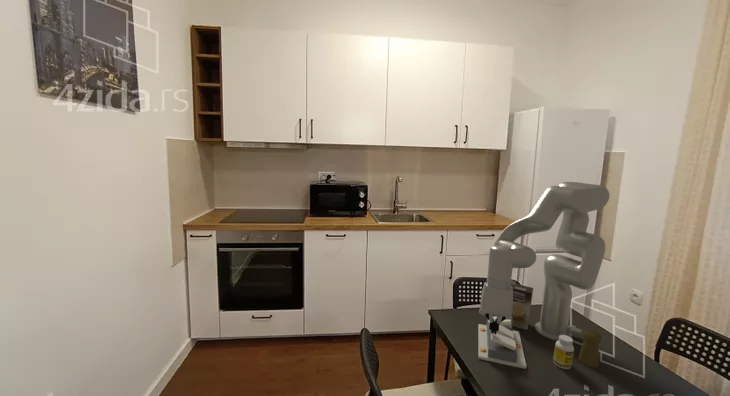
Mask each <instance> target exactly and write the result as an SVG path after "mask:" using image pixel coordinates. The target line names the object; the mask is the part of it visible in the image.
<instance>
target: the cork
mask: <svg viewBox="0 0 730 396" xmlns="http://www.w3.org/2000/svg"><path fill="white" fill-rule="evenodd" d="M582 338H583V342H582V345H581V347H580V351H579V353H578V357H577V360H578V361H579V363H581V364H582V365H584V366H587V367H590V368H598V367H599V366H600V356H599V355H600V352H599V344H601V342H602V336H601V334H600V332H597V331H595V330H592V329H585V330H584V331H582Z"/></svg>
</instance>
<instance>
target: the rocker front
mask: <svg viewBox="0 0 730 396" xmlns="http://www.w3.org/2000/svg"><path fill="white" fill-rule="evenodd" d="M491 341H494V342H496V343H498V344H501V347H504V346H505V347H507V348H510V349H512V350H514V351H515V350H516V343H515V341H514V340H512V339H510V338H507V337H505V336H503V335H501V334H498V333H496V334H491Z"/></svg>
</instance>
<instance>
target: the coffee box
mask: <svg viewBox="0 0 730 396" xmlns="http://www.w3.org/2000/svg"><path fill="white" fill-rule="evenodd" d="M512 288H513V311H512V319H511V324H512V327H515V328H518V329H522V330H526V331H528V328H529V324H530V317H531V309H532V301H533V293H534V287H531V286H526V285H522V284H519V283H516V285H512Z"/></svg>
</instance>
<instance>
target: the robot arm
mask: <svg viewBox="0 0 730 396" xmlns="http://www.w3.org/2000/svg"><path fill="white" fill-rule="evenodd" d="M609 200H610V191H609V189H608V188H607V187H606V186H604V185H601V184H593V183H587V182H586V183H585V182H579V181H578V182H577V181H564V182H561V183H559V184H558V185H552V186H548V187H547V188H546V189H544V191H543V192H542V194H541V196H540V197H539V199H538V200H537V202H536V203H535V205H534V206H533V207H532V208H531V210H530V211H529V213H528V214H527V215H526V216H524V217H522V218H520V219H517V220H516V221H514V222H512V223H511V224H508V226H506V227H505V228H504V229H503V230H502V231H501V232H500V234H499V236H498V237H497V239H496V240H495V242H494V244H493V245H492V246H491V247H490V249H489V255H488V268H487V275H486V277H487V278H486V281H485V282H484V283H483V287H482V291H481V295H480V306H479V310H478V314H479V315H482V316H485V317H486V319H488V320H489V321H490V325H489V330H491V334H496V333H497V331H499V324H500V323H501V322H502V321H504V320H511V319H512V311H513V288H512V285H516V284H517V282H516V280H513V279H512V276H513V269H526V268H527V269H528V268H530V267H532V266H533V265H534V264H535V263H536V261H537V253H536V252H535V250H534V249H533V248H531V247H530V246H527V245H524V244H522V243H519V242H515V241H516V240H518V239H519V238H520V237H523V236H525V235H529V234H530V235H531V234H536V233H543V232H548V231H549V230H551V229H552V227H553V226H554V225H555V224H556V221H557V220H558V218H559V217H560V216H561V214H562V215H563V216H562V220H561V222H560V223H561V224H560V226H559V229H558V233H557V236H556V239H555V240H556V241H555V247H556V248H557V249H558V250H559V251H561V252H562V253H566V254H567V255H568V254H569V255H571V256H574V257H577V258H581V261H579V260H578V259H574V258H571V257H568V256H565V255H561V254H550V255H548V256H547V257H546V258H545V260H544V262H543V273H544V274H543V275H544V276H543V277H544V283H543V284H544V285H543V294H542V301H541V302H542V303H541V309H540V319H539V321H537V322H536V323H535V324H534V329H535V331H536V332H537V333H538V334H539V335H541V336H542V337H544V338H546V339H549V340H552V341H555V342H557V341H559V336H560V335H566V336H569V337H571V338H572V334H575V335H583V330H582V329H580V328H577V325H570V324H569V320H570V313H571V304H572V298H573V291H572V287H574V288H578V289H579V290H583V291H585V290H586V291H587V290H588V291H589V290H590V289H592V288H593V287H594V286H595V284H596V281H597V279H598V276H599V272H600V270H601V268H602V267H601V266H602V262H603V260H604V256H605V253H606V242H605V240H604V238H603V237H602V236H600V235H598V234H594V233H590V232H587V230H588V226H589V222H590V217H589V214H588V213H590V212H593V211H597V210H600V209H602V208H604V207H606V205H608V202H609ZM571 286H572V287H571ZM494 316H497V318H496V319H495V322H494V318H493V317H494Z"/></svg>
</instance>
